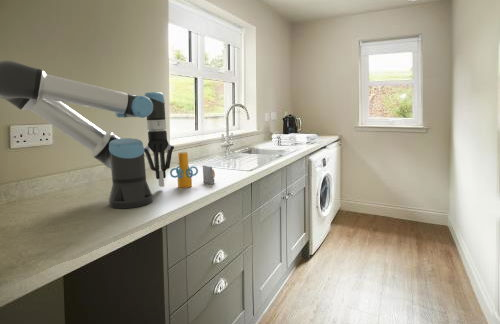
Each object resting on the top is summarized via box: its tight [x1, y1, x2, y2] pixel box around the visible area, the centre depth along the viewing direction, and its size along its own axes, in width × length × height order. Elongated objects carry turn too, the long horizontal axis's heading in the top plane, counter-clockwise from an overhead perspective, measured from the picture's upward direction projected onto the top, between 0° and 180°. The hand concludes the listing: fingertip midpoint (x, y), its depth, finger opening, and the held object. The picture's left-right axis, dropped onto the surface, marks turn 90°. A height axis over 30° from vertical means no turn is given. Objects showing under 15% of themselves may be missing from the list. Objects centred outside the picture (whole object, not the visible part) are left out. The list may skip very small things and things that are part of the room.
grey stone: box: [202, 164, 216, 186], centre depth 159 cm, size 3×8×8 cm, turn 31°
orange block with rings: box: [169, 151, 199, 189], centre depth 153 cm, size 12×10×15 cm
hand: (161, 186), depth 148 cm, fingers closed
